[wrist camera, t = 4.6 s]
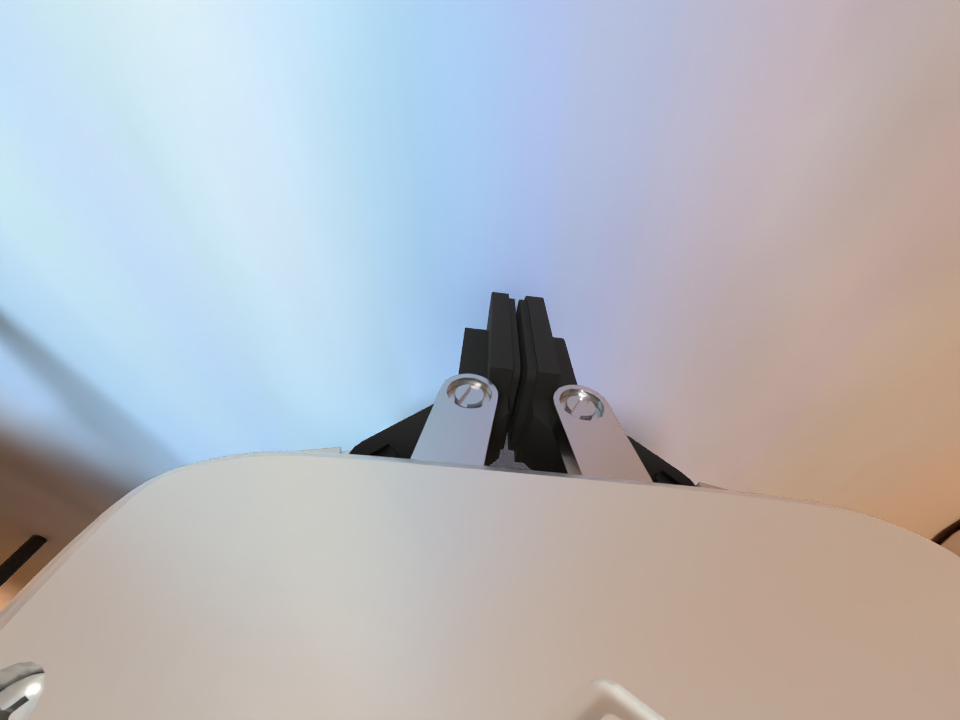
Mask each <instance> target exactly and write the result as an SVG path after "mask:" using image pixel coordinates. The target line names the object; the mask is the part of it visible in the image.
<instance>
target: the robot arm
mask: <svg viewBox="0 0 960 720" xmlns="http://www.w3.org/2000/svg"><path fill="white" fill-rule="evenodd" d="M507 433H508V450H514V455H515V462H522V463H524V464H526V465H527V466H528V467H529V468H530V470H523V469H513V468H502V467H492V466H489V465H490V464H492V463H493V462H494V461H496V460H497V459H498V458H499V454H500V449H503V448H504V444H505V440H506V435H507ZM0 720H960V530H958V531H956V532H955V533H953V534H952V535H951V536H950V537H948V538H947V539H946V540H945V541H944V542H943V543H941V545H938V544H936V543H935V542H933V541H931V540H929V539H927V538H925V537H923V536H921V535H918V534H916V533H914V532H912V531H910V530H907V529H905V528H902V527H900V526H897V525H894V524H892V523H889V522H887V521H884V520H882V519H879V518H876V517H873V516H869V515H866V514H863V513H859V512H856V511H852V510H849V509H846V508H842V507H837V506H832V505H828V504H823V503H818V502H813V501H807V500H800V499H793V498H786V497H778V496H772V495H764V494H756V493H747V492H739V491H730V490H726V489H722V488H719V487H715V486H712V485H708V484H705V483H701V482H698V484H697V485H696V486H695V485H694V483H693V482H692V481H691V480H690V479H689V478H688V477H686V476H685V475H684V474H683V473H682V472H680V471H679V470H677V469H676V468H674V467H673V466H671V465H670V464H668V463H667V462H665V461H664V460H663V459H661V458H660V457H658V456H657V455H655V454H654V453H652V452H651V451H649V450H648V449H646V448H645V447H643V446H642V445H641V444H639V443H638V442H636V441H635V440H633V439H632V438H630V437H629V436H627V435H626V434H625V432H624V430H623V428H622V427H621V425H620V423H619V421H618V419H617V418H616V416H615V414H614V412H613V411H612V409H611V407H610V405H609V404H608V402H607V401H606V400H605V399H604V397H602V396H601V395H600V394H599V393H597V392H596V391H594V390H592V389H590V388H587V387H584V386H580V385H577V382H576V379H575V375H574V372H573V368H572V365H571V361H570V358H569V354H568V351H567V347H566V344H565V341H564V339H562V338H554V337H552V332H551V328H550V324H549V320H548V316H547V311H546V307H545V303H544V299H543V298H540V297H532V296H526V297H525V300H519V302H518V306H517V312H516V309H515V299H510V298H509V294H505V293H496V292H492V295H491V302H490V309H489V317H488V324H487V330H481V329H472V328H465V332H464V340H463V347H462V354H461V361H460V368H459V374H458V375H455V376H453V377H450V378H449V379H448V380H446V381H445V382H444V384H443V385H442V387H441V389H440V391H439V394H438V396H437V398H436V401H435V403H434V404H433V405H431V406H429V407H427V408H425V409H423V410H421V411H419V412H417V413H416V414H414V415H412V416H410V417H408V418H406V419H404V420H402V421H400V422H398V423H397V424H395V425H393V426H391V427H389V428H387V429H385V430H383V431H381V432H379V433H377V434H376V435H374V436H372V437H370V438H368V439H366V440H364V441H362V442H361V443H360V444H358V445H357V446H355V447H354V448H353V449H352V450H351V451H341V447H333V448H322V449H311V450H301V451H262V452H253V453H244V454H235V455H228V456H223V457H218V458H214V459H209V460H204V461H199V462H195V463H192V464H188V465H185V466H181V467H179V468H176V469H173V470H170V471H167V472H164V473H162V474H160V475H158V476H156V477H154V478H152V479H150V480H148V481H146V482H144V483H143V484H141V485H140V486H138V487H137V488H135V489H134V490H132V491H130V492H129V493H128V494H126V495H125V496H124V497H122V498H121V499H120V500H118V501H117V502H116V503H114V504H113V505H112V506H111V507H109V508H108V509H107V510H106V511H105V512H103V513H102V514H101V515H100V516H99V517H98V518H96V519H95V520H94V521H93V522H92V523H91V524H90V525H89V526H87V527H86V528H85V529H84V530H83V531H82V532H81V533H80V534H79V535H77V536H76V537H75V538H74V539H73V540H72V541H71V542H70V543H69V544H68V545H67V546H66V547H65V548H63V549H62V550H61V551H60V552H59V553H58V554H57V555H56V556H55V557H54V558H53V559H52V560H51V561H50V562H49V563H48V564H47V565H46V566H45V567H44V568H43V569H42V570H41V571H40V572H38V573H37V574H36V575H35V576H34V577H33V578H32V579H31V581H30V582H29V583H28V584H27V585H26V586H25V587H24V588H23V589H22V590H21V591H20V592H19V593H18V594H17V595H16V596H15V597H14V598H13V599H12V600H11V601H10V602H9V603H8V604H7V605H6V606H5V607H4V608H3V609H2V610H1V611H0Z"/></svg>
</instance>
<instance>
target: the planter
mask: <svg viewBox="0 0 960 720" xmlns="http://www.w3.org/2000/svg"><path fill="white" fill-rule="evenodd" d="M46 541H47V540H46V539H44V538H43V537H41V536H32V537H31V538H30V539H28V540H27V541H26V542H25V543H24V544H23V545H22V546H21V547H20V548H19V549H18V550H17V551H16V552H15V553H13V554H12V555H11V556H10V557H9V558H8V559H7V560H6V561H5V562H4V563H3V564H2V565H1V566H0V586H1V585H2V584H3V583H4V582H5V581H7V580H8V579H9V578H10V577H11V576H12V575H13V574H14V573H15V572H16V571H17V570H18V569H19V568H20V567H21V566H22V565H23V564H24V563H25V562H26V561H27V560H28V559H29V558H30V557H31V556H32V555H33V554H34V553H35V552H36V551H37V550H38V549H39V548H40V547H41V546H42V545H43V544H44V543H46Z"/></svg>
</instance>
